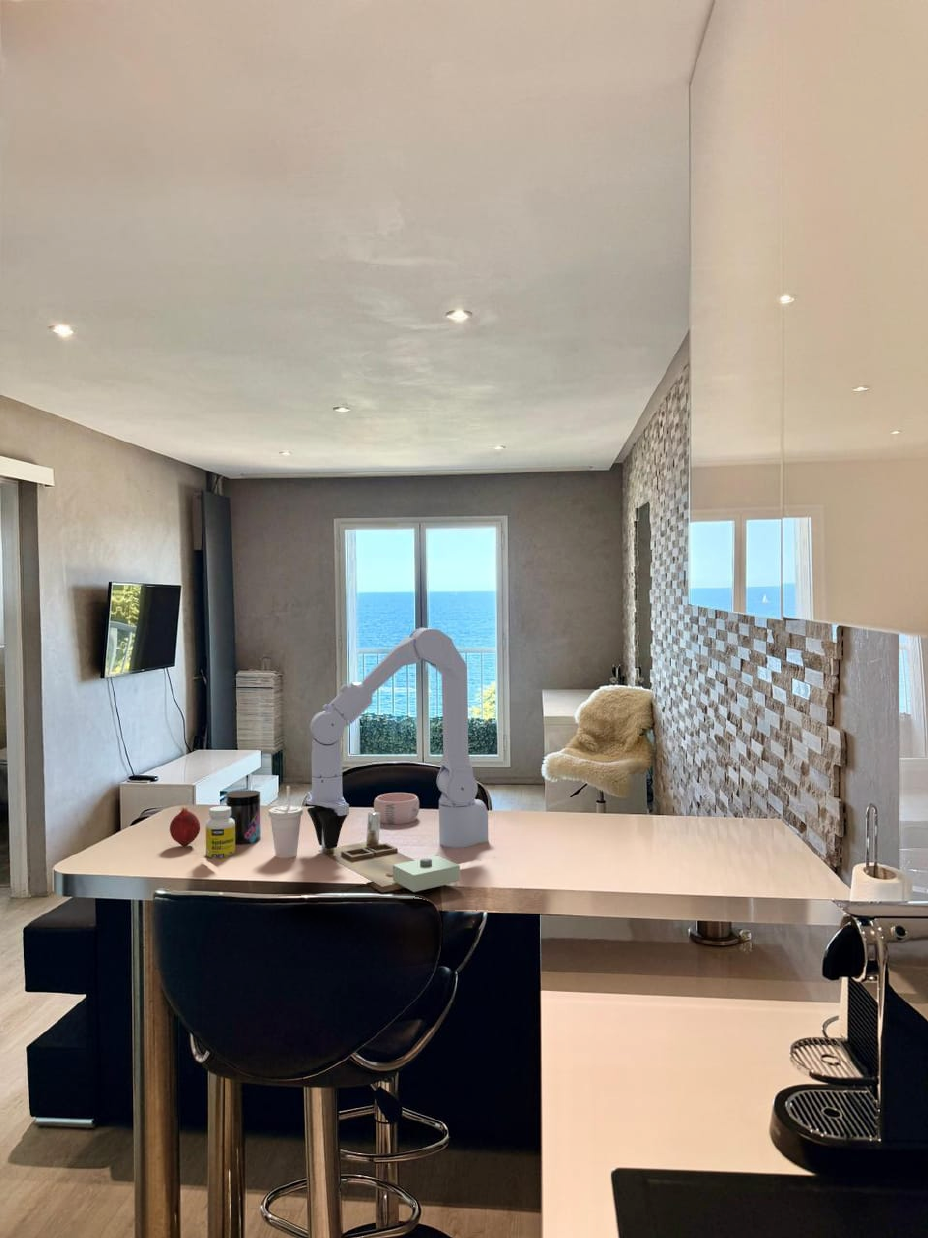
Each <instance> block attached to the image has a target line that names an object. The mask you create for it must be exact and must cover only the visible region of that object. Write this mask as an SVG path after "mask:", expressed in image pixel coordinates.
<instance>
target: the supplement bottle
mask: <svg viewBox="0 0 928 1238" xmlns="http://www.w3.org/2000/svg"><path fill="white" fill-rule="evenodd" d="M208 815H209V817H210V818H209V819H207V821H206V823H205V860H206V861H207V862H209V863H212V861H211V860H210V859H224V858H229V857H232V856H234V855H235V854H236V845H235V821H234V820H233V819H232V818H230V816H231V807H228V806H226V805H218V806H213V807H210V808H209V813H208ZM208 858H209V859H208Z"/></svg>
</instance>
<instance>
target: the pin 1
mask: <svg viewBox="0 0 928 1238" xmlns="http://www.w3.org/2000/svg"><path fill="white" fill-rule="evenodd" d="M321 850H322V853H321V854H322V855H324V854H326V855H328V854H333V853H334V848H330V849H326V847H325V844H324V836H323V829H322V845H321ZM326 855H325V856H326Z"/></svg>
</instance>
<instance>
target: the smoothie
mask: <svg viewBox="0 0 928 1238" xmlns="http://www.w3.org/2000/svg"><path fill="white" fill-rule="evenodd" d="M290 787H291V786H289V785H288V786H286V805H281V806H274V807H272V808H270V809H268V817H269V818H270V823H271V830H272V831H271V832H272V836H273V837H272V840H273V845H274V853H275V857H276V858H278V859H279V858H280V859H290V858H294V857H296V856H297V855H298V849H299V839H300V829H301V821H302V816H303V814H304V811H303V807H302V806H298V805H291V796H290V795H291V788H290Z"/></svg>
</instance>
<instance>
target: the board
mask: <svg viewBox="0 0 928 1238" xmlns="http://www.w3.org/2000/svg"><path fill="white" fill-rule="evenodd" d="M398 850H399V849H398V847H395V846H393V845H391V844H389V843H387V842H385V843H380V842H379V844H378V845H373V846H370V845H367V844H366V841H363V842H359V843H353V844H347V845H342V846H341V845H340V846H337V847H336V848H334V853H333V854H328V855H326V854H323V856H326V857H328V858H330V859H331V860H333V861H335V862H337V863H338V864H340V865H342V866H344V867H345V868H347V869H349V870H351V871H353V872H355V873H356V874H358V875H360V876H362V877H363V878H365V879H367V880H369V882H365V884H366V885H368V886H370V887H371V888H374V889H375V890H377V891H379V892H380V893H386V892H387V893H388V892H392V891H397V890H400V889H407V888H406V887H404V886H402V885H400V884H398V883H396V882H394V881H393V865H394V864H399V863H404V862H409V861H414V860H415V859H413V858H412V857H410V856H407V855H405V854H403V853H401V852H399V851H398ZM318 852H320V853H321V854H322V849H320V850H318Z"/></svg>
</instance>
